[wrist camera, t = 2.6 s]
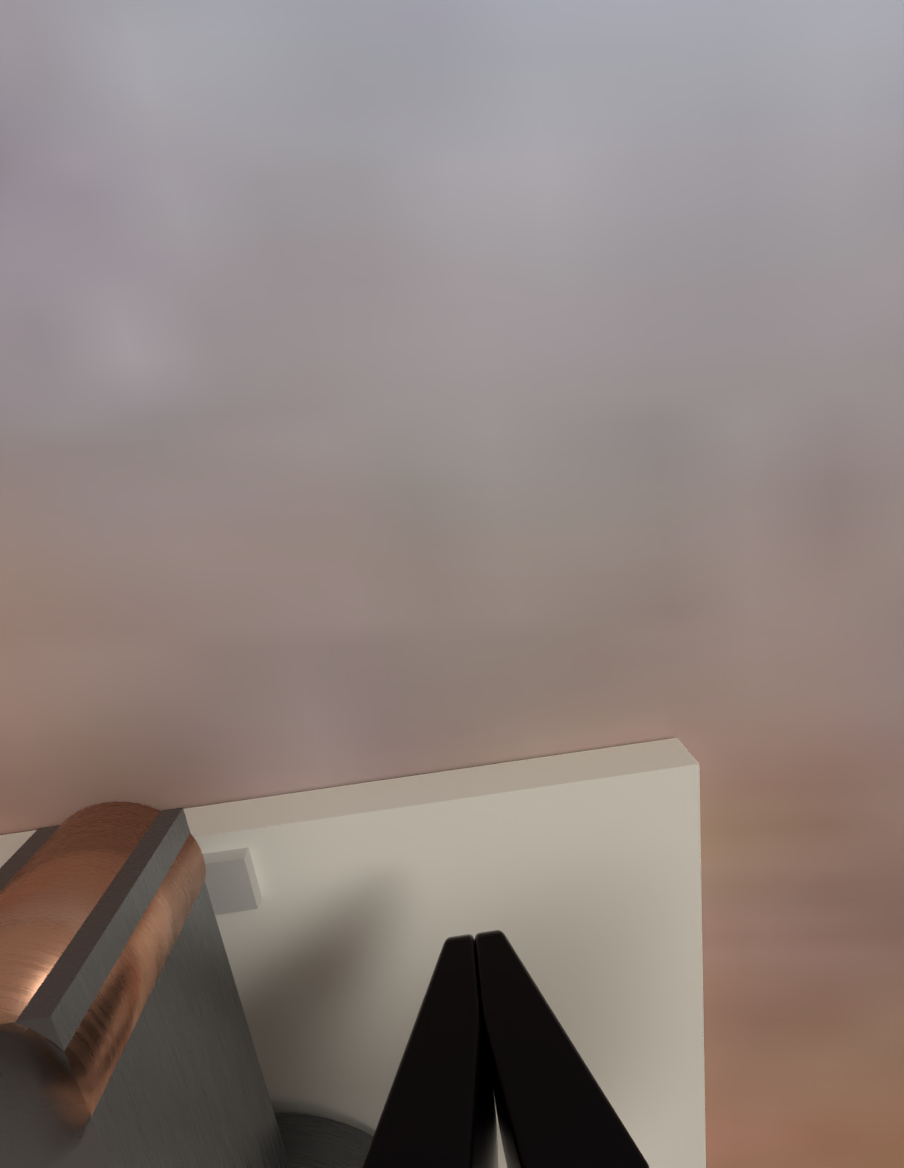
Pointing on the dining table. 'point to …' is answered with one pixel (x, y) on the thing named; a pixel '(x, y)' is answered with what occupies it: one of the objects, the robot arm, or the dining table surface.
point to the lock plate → (471, 923)
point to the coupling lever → (132, 1011)
